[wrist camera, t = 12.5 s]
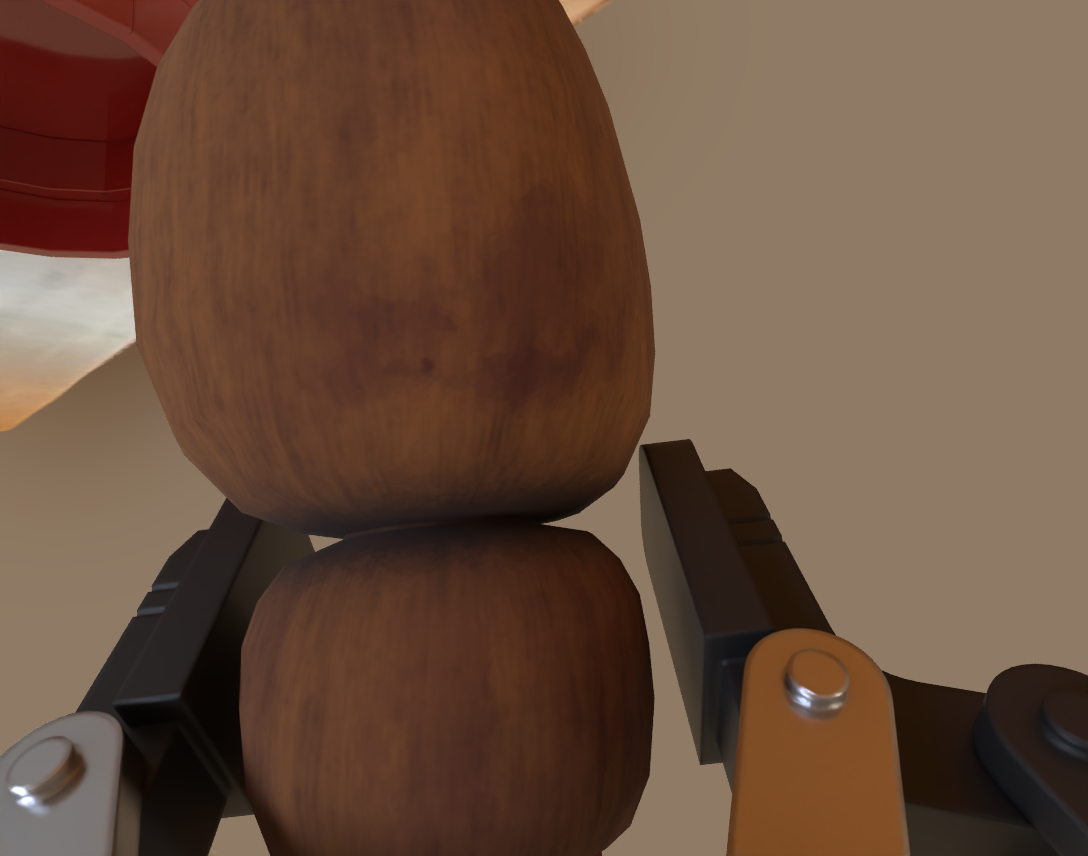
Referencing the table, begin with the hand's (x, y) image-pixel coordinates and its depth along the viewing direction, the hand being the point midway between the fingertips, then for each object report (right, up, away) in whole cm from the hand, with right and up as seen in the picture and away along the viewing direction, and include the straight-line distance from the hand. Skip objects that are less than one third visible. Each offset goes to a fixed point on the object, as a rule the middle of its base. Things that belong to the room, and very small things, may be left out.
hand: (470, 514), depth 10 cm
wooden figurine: (-1, +8, 0) cm, 8 cm away
